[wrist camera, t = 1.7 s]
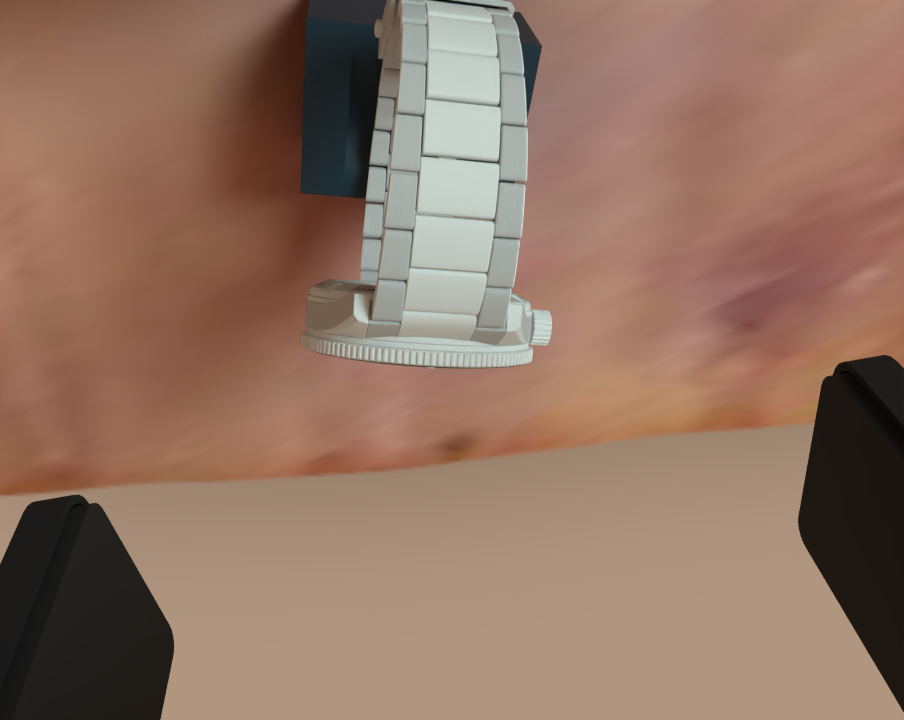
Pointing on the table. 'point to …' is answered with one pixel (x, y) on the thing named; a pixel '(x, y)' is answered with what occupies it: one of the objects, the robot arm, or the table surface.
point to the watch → (423, 178)
